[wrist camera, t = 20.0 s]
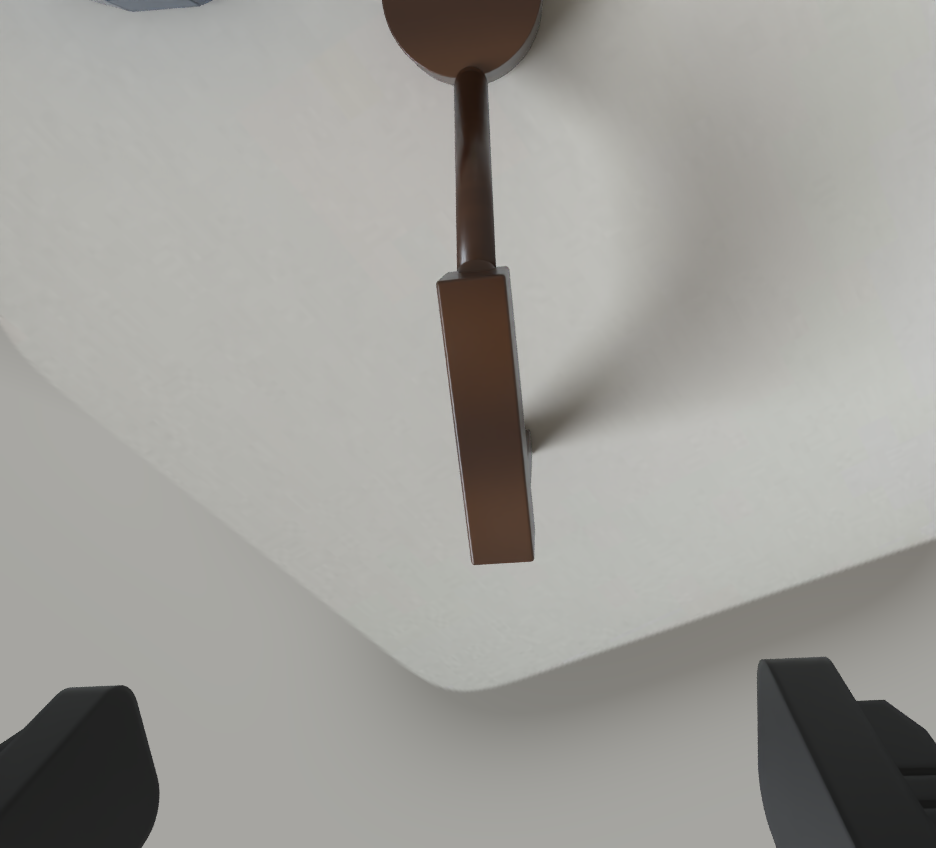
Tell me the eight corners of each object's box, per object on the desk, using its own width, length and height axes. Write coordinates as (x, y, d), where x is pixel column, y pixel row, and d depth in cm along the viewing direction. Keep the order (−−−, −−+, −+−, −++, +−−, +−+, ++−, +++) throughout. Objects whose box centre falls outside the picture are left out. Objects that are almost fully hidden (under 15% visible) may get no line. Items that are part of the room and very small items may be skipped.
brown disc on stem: (383, -67, 28) (300, -199, 19) (535, -92, 28) (530, -243, 18) (451, 460, 34) (415, 569, 24) (578, 451, 33) (592, 558, 24)
